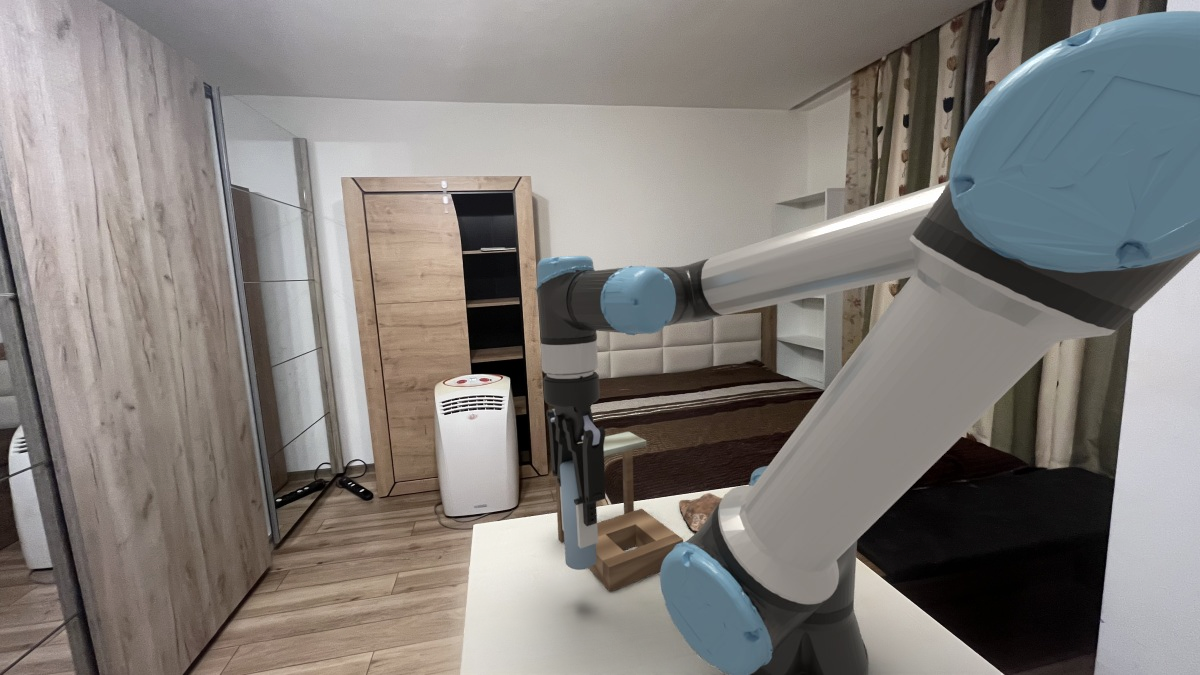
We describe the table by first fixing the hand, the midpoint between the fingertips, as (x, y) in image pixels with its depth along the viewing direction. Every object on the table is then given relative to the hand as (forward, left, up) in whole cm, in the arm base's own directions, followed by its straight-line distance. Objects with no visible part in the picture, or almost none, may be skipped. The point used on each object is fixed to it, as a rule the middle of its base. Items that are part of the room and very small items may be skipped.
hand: (579, 535), depth 66 cm
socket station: (+9, -12, -11) cm, 19 cm away
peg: (0, 0, -4) cm, 4 cm away
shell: (+9, -32, -12) cm, 36 cm away
